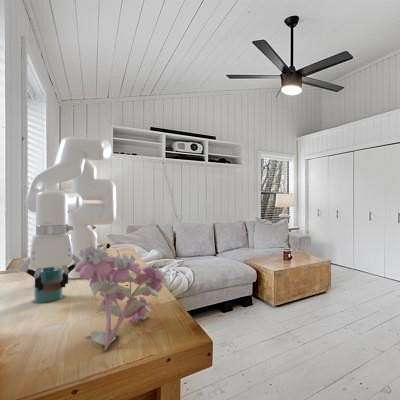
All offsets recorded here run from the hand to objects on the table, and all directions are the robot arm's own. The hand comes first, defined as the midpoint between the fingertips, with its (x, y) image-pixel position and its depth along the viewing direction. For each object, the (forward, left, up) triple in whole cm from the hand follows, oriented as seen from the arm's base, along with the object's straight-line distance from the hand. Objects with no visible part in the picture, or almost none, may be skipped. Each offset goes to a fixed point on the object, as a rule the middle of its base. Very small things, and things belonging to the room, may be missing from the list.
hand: (51, 287), depth 92 cm
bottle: (-6, -8, -6) cm, 11 cm away
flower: (+9, +33, -6) cm, 35 cm away
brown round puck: (0, 0, 0) cm, 0 cm away
